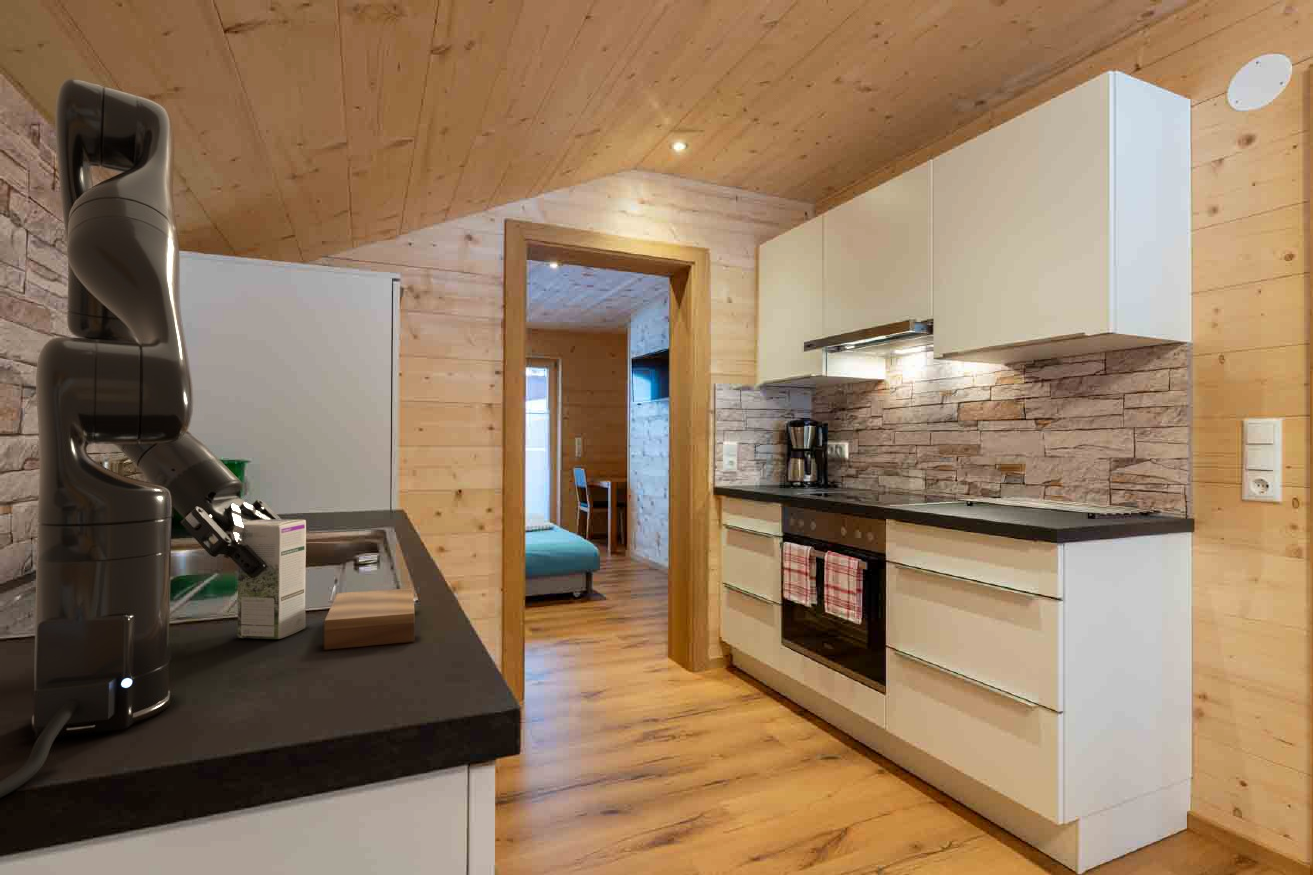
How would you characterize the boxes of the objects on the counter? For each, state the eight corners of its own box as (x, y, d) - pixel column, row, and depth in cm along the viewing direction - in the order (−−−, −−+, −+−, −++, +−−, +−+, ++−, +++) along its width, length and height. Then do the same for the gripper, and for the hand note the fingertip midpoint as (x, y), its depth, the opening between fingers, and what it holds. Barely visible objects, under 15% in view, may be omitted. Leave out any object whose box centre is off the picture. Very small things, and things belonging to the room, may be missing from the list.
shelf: (414, 641, 82) (414, 613, 83) (324, 650, 79) (324, 620, 79) (412, 612, 97) (413, 588, 98) (336, 618, 94) (337, 593, 94)
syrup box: (307, 628, 89) (308, 518, 89) (277, 640, 83) (279, 522, 83) (266, 627, 89) (268, 517, 89) (234, 639, 83) (236, 522, 83)
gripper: (173, 457, 79) (269, 554, 79) (245, 455, 93) (327, 538, 93) (126, 502, 79) (223, 600, 79) (206, 493, 93) (288, 576, 93)
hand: (279, 566), depth 86 cm, fingers open, 8 cm apart
